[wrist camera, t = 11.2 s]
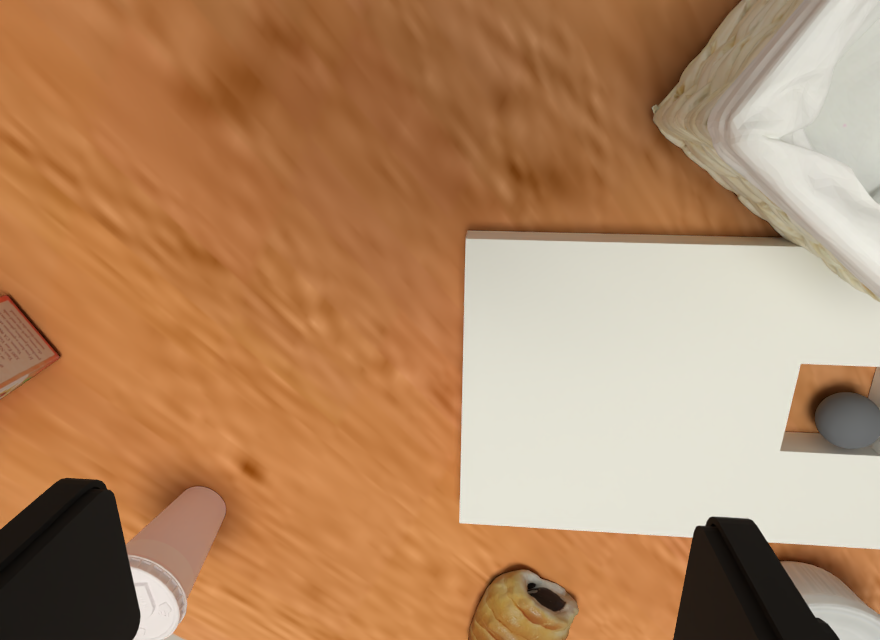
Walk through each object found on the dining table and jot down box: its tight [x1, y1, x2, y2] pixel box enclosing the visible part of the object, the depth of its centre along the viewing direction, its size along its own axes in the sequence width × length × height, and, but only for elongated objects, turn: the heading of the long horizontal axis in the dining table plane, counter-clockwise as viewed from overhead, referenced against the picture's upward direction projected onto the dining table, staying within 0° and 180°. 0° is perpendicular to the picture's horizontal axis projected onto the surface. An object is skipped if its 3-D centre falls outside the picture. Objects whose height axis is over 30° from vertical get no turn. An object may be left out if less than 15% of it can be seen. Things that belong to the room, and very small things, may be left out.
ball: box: [815, 392, 880, 449], centre depth 36 cm, size 4×4×4 cm
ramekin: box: [780, 561, 880, 640], centre depth 41 cm, size 11×11×5 cm
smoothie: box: [126, 486, 226, 640], centre depth 38 cm, size 6×6×14 cm
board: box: [460, 230, 880, 549], centre depth 37 cm, size 32×20×2 cm, turn 90°
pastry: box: [468, 569, 579, 640], centre depth 44 cm, size 9×7×4 cm
